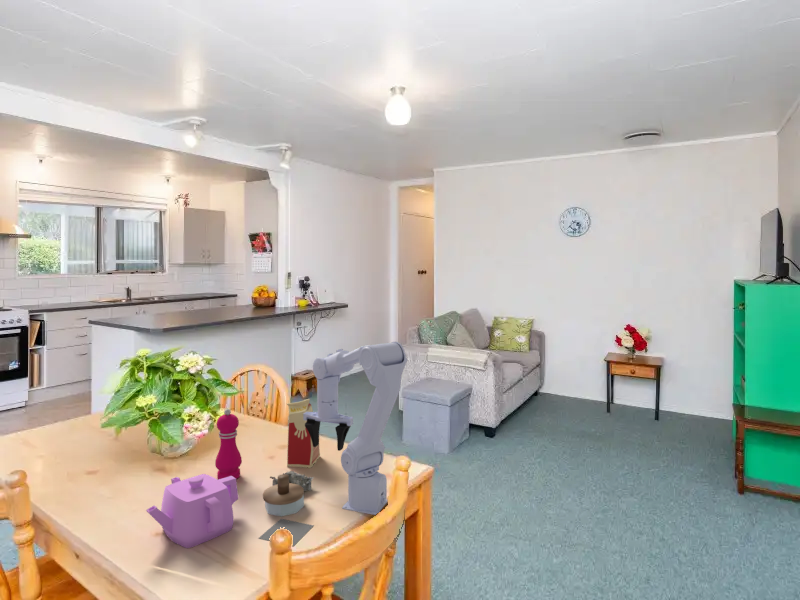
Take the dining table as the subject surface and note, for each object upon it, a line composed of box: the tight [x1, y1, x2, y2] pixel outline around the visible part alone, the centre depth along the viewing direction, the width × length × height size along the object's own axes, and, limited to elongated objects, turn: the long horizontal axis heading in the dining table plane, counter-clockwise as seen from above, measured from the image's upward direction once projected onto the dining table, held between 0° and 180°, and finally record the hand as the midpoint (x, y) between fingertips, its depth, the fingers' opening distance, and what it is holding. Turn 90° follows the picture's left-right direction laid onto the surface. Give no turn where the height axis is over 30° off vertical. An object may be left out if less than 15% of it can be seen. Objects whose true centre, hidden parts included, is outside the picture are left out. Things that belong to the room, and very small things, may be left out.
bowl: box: [264, 494, 305, 517], centre depth 125 cm, size 9×9×4 cm
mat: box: [257, 518, 315, 547], centre depth 113 cm, size 9×9×1 cm
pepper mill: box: [214, 408, 243, 480], centre depth 142 cm, size 7×7×20 cm
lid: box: [262, 473, 305, 505], centre depth 124 cm, size 10×10×5 cm
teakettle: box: [145, 473, 239, 549], centre depth 114 cm, size 17×17×12 cm
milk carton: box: [286, 398, 321, 469], centre depth 153 cm, size 9×9×20 cm
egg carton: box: [269, 470, 314, 492], centre depth 135 cm, size 11×8×4 cm
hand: (328, 447), depth 138 cm, fingers open, 7 cm apart
